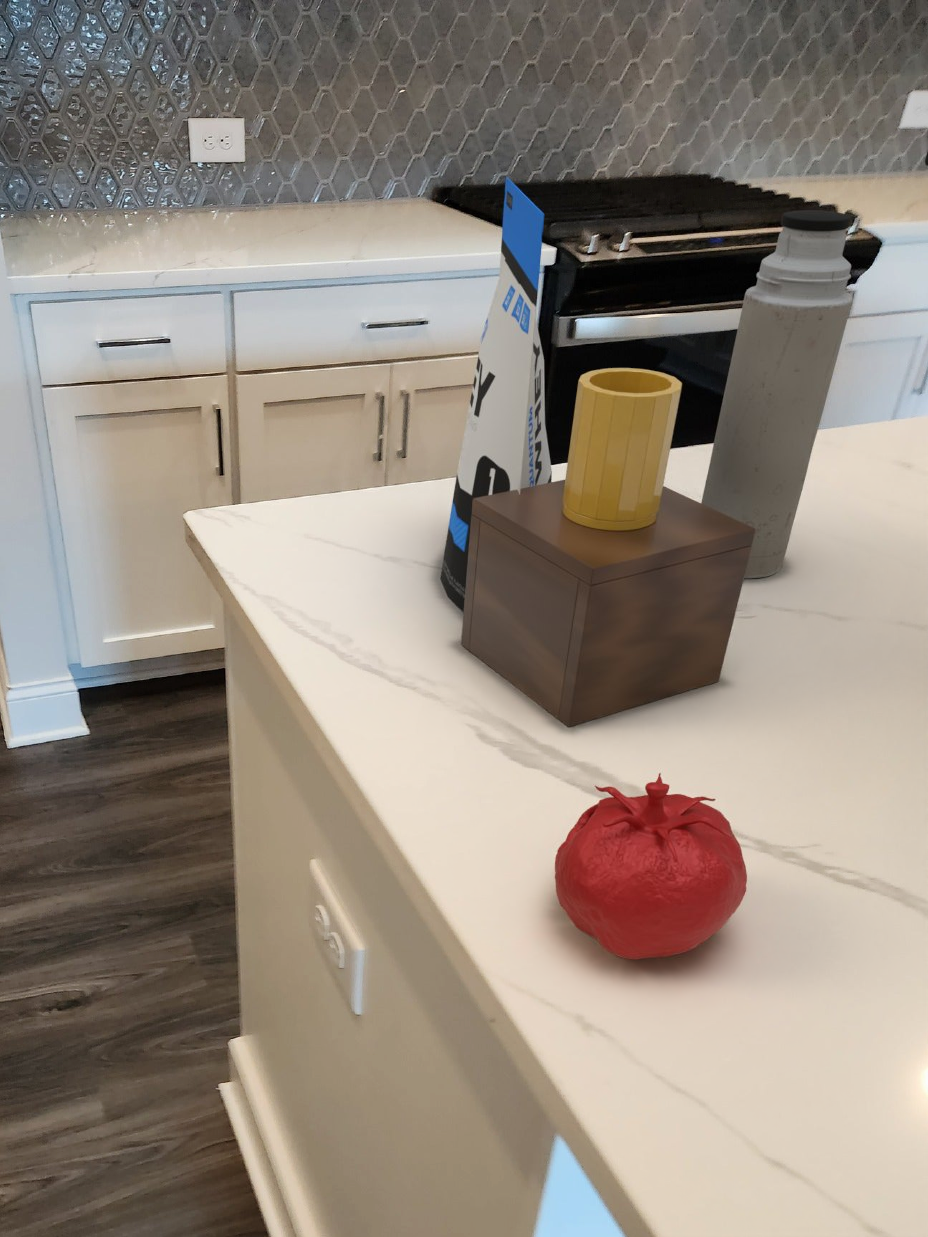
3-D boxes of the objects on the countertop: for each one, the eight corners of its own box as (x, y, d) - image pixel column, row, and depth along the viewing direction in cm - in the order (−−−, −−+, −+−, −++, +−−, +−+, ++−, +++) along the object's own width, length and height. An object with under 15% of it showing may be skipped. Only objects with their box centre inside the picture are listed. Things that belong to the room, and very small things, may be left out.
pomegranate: (767, 954, 60) (813, 816, 54) (606, 1000, 57) (637, 860, 51) (661, 847, 67) (692, 716, 61) (515, 884, 64) (533, 751, 59)
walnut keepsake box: (600, 608, 93) (623, 466, 86) (719, 681, 83) (756, 528, 76) (460, 644, 88) (472, 498, 81) (568, 727, 78) (593, 568, 71)
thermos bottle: (747, 538, 104) (829, 201, 87) (800, 572, 98) (898, 217, 81) (673, 548, 102) (741, 207, 86) (722, 583, 96) (806, 223, 79)
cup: (615, 490, 82) (636, 362, 76) (677, 520, 77) (703, 386, 72) (543, 505, 79) (559, 375, 74) (601, 537, 75) (623, 401, 69)
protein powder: (531, 530, 107) (564, 175, 90) (567, 640, 88) (618, 212, 70) (433, 531, 108) (448, 178, 91) (447, 641, 88) (469, 216, 71)
